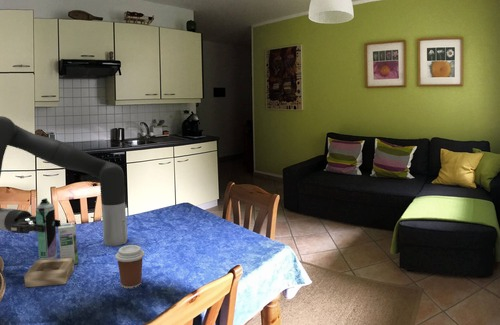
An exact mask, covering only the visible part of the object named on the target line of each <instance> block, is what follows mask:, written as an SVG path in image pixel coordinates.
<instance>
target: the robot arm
mask: <svg viewBox="0 0 500 325" xmlns="http://www.w3.org/2000/svg"><path fill="white" fill-rule="evenodd" d="M9 146H10V147H13V148H16V149H19V150H22V151H25V152H26V153H28V154H31V155H32V156H35V157H37V158H38V159H41V160H42V161H45V162H46V163H50V164H52V165H53V166H57V167H59V168H62V169H67V170H71V171H75V172H82V173H84V174H88V175H90V176H93V177H94V178H97V179H98V180H99V185H100V186H99V187H100V188H99V189H100V201H101V202H100V203H101V215H102V216H101V217H102V218H101V219H102V232H103V233H102V236H103V245H105V246H108V247H116V246H121V245H124V244H125V245H126V244H127V242H128V239H129V238H128V222H127V221H128V220H127V215H126V212H127V211H126V186H125V173H124V170H123V168H122V167H121V165H119V164H118V163H114V162H110V161H108V160H104V159H102V158H99V157H96V156H93V155H91V154H88V153H87V152H85V151H83V150H81V149H79V148H77V147H74V146H72V145H70V144H68V143H66V142H63V141H62V140H61V141H60V140H58V139H55V138H51V137H48V136H44V135H41V134H40V135H39V134H35V133H33V132H30V131H28V130H27V129H24V128H22V127H20V126H18V125H17V124H15V123H14V122H13V120H11V119H10V118H8V117H6V116H3V115H2V116H0V177H1V175H2V167H3V161H4V156H5V154H6V150H7V149H8V147H9ZM61 224H62V223H61V220H60V219H55V225H56V228H58V227H59V226H61ZM0 230H2V231H5V232H11V233H13V234H14V233H15V234H26V235H28V234H30V233H37V232H43V233H44V232H46V226H45V225H38V224H37V223H36V215H32V214H31V212H30V211H28V210H23V209H14V208H3V207H0Z"/></svg>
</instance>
